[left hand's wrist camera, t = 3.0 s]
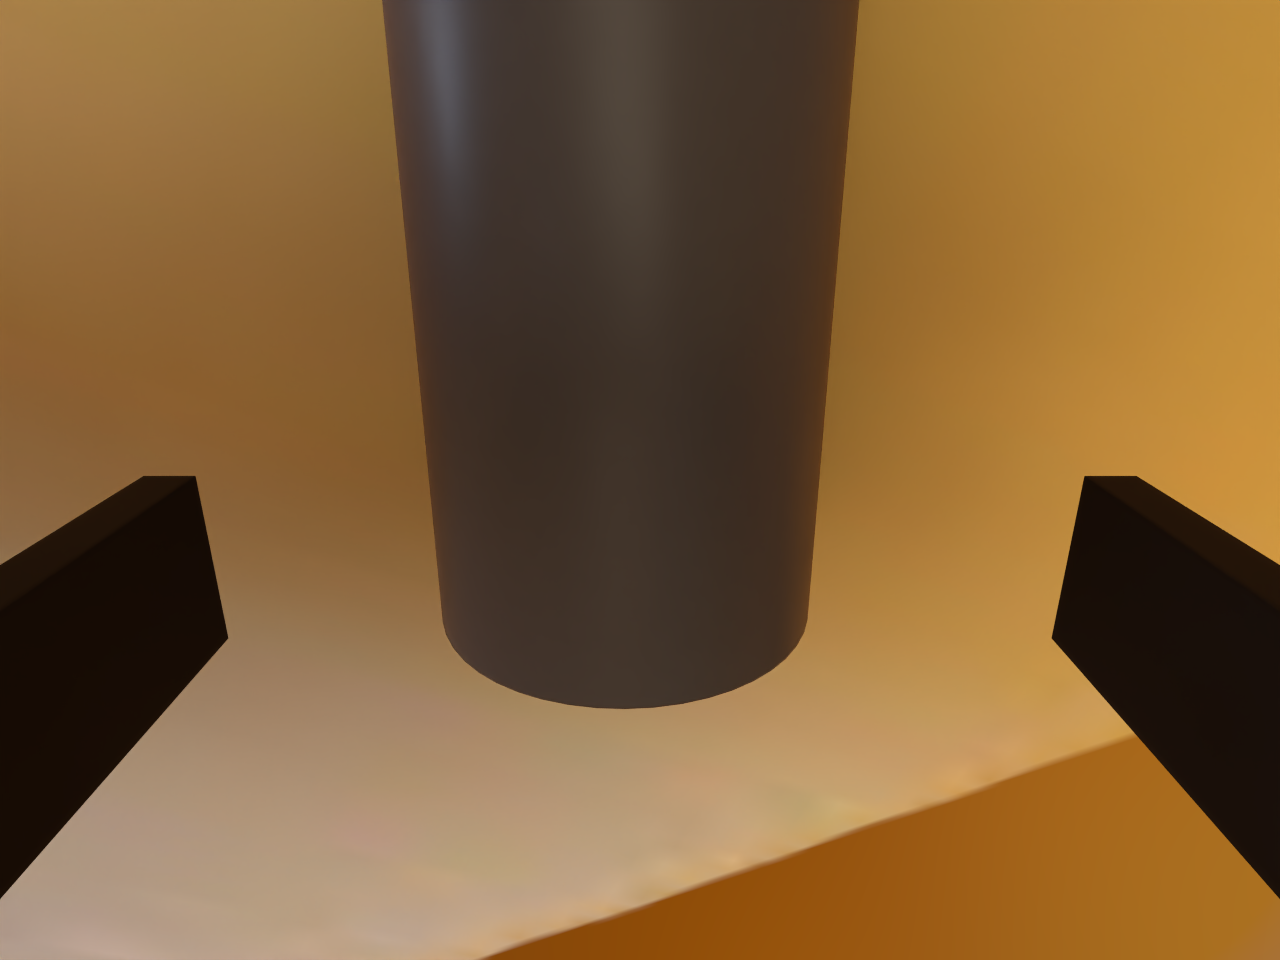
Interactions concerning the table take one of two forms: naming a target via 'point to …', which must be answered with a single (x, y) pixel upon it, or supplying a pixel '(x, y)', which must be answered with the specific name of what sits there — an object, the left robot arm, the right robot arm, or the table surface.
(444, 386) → the rod
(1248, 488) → the table surface
